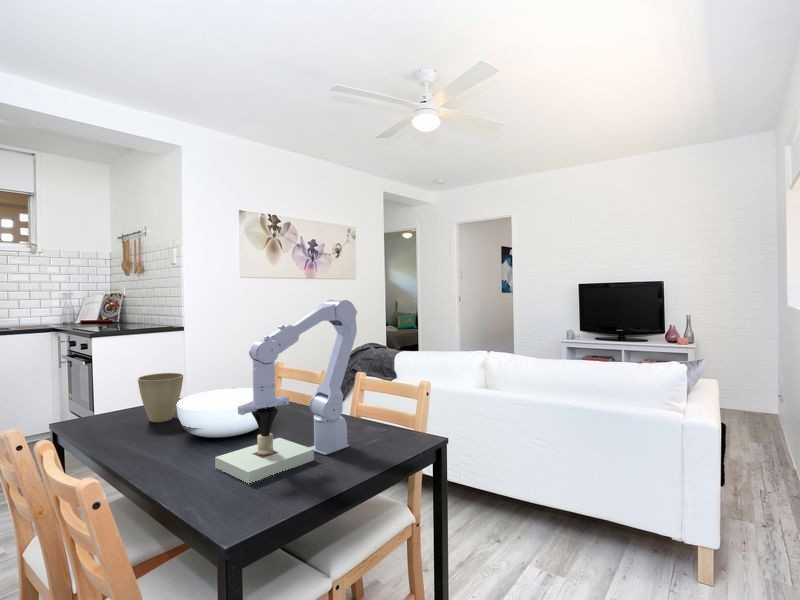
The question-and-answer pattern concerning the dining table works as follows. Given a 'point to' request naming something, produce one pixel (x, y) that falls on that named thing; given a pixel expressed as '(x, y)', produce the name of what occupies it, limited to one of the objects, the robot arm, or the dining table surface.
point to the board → (264, 460)
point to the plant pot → (160, 395)
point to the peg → (265, 445)
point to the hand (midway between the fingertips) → (264, 435)
